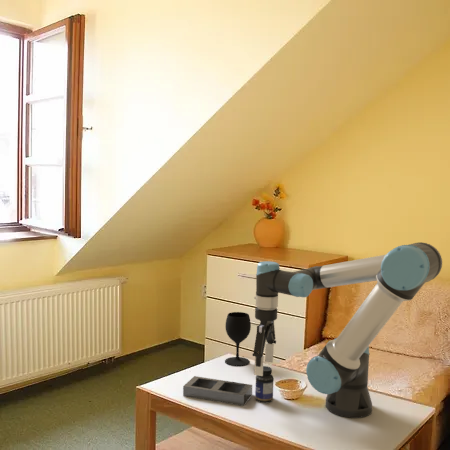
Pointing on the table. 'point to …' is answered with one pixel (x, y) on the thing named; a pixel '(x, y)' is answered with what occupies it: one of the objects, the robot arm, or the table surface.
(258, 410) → the table surface
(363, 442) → the table surface
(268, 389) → the pill bottle
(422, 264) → the robot arm
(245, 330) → the wine glass
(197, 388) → the rectangular frame
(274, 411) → the table surface
